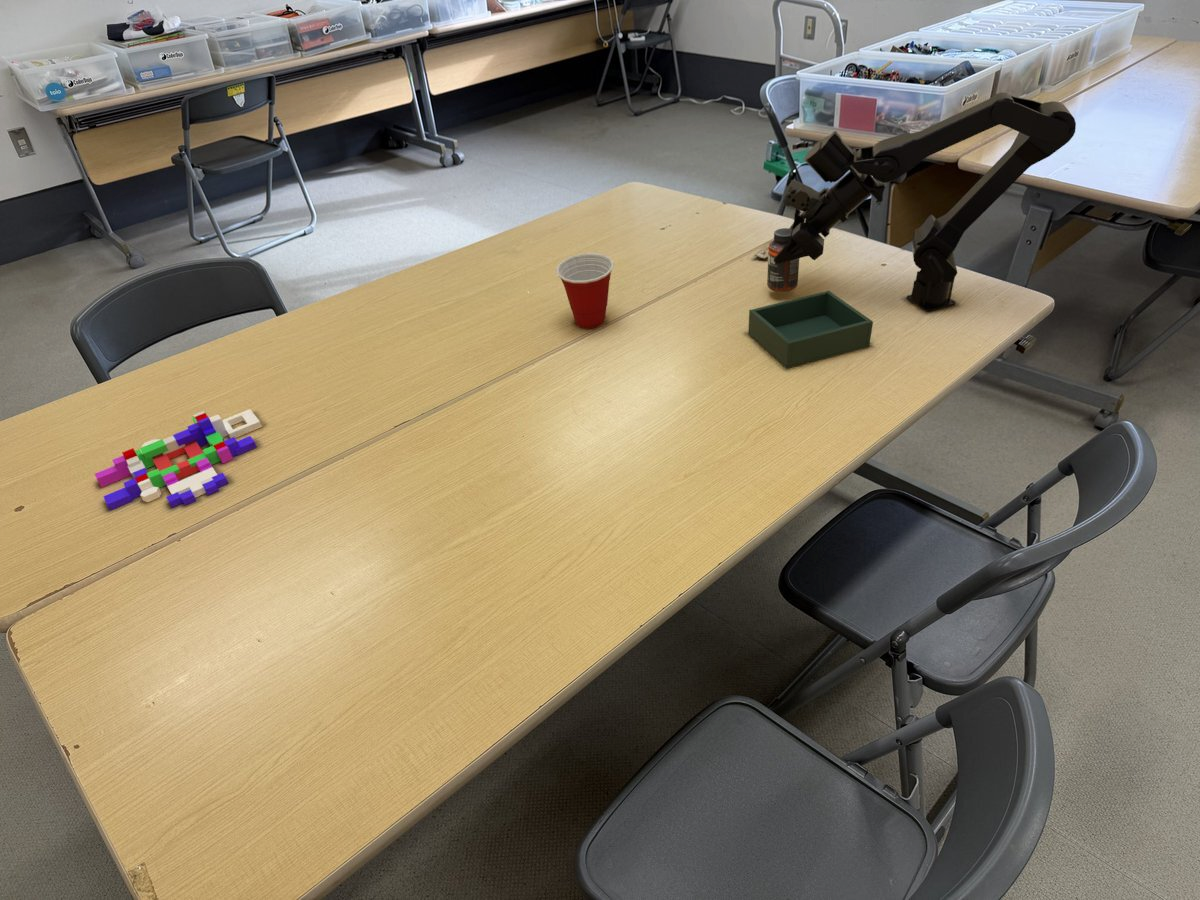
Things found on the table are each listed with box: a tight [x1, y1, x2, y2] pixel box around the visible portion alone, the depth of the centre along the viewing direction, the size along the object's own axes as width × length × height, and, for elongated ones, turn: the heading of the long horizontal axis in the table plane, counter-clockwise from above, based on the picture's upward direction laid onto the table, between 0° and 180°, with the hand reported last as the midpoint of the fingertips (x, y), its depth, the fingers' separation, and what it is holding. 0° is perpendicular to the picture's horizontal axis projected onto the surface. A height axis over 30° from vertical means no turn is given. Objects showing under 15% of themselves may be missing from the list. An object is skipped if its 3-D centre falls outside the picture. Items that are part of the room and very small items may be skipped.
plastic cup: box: [555, 252, 615, 330], centre depth 149 cm, size 11×11×12 cm
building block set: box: [94, 408, 263, 511], centre depth 124 cm, size 25×20×4 cm
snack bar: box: [754, 240, 773, 260], centre depth 172 cm, size 10×2×3 cm
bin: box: [747, 290, 874, 369], centre depth 140 cm, size 17×14×5 cm
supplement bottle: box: [766, 227, 800, 293], centre depth 152 cm, size 6×6×11 cm
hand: (776, 254), depth 152 cm, fingers closed on supplement bottle, 6 cm apart
